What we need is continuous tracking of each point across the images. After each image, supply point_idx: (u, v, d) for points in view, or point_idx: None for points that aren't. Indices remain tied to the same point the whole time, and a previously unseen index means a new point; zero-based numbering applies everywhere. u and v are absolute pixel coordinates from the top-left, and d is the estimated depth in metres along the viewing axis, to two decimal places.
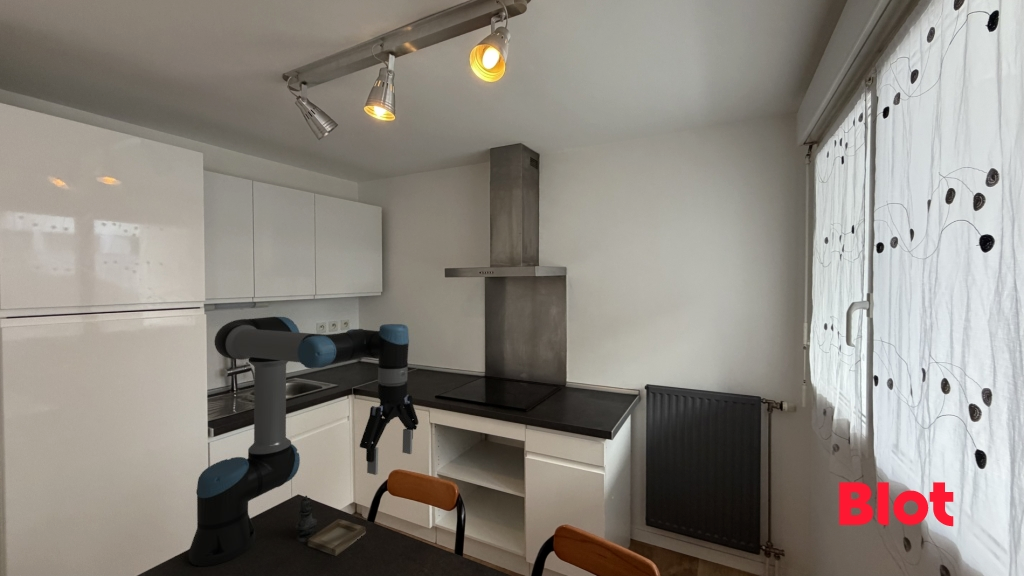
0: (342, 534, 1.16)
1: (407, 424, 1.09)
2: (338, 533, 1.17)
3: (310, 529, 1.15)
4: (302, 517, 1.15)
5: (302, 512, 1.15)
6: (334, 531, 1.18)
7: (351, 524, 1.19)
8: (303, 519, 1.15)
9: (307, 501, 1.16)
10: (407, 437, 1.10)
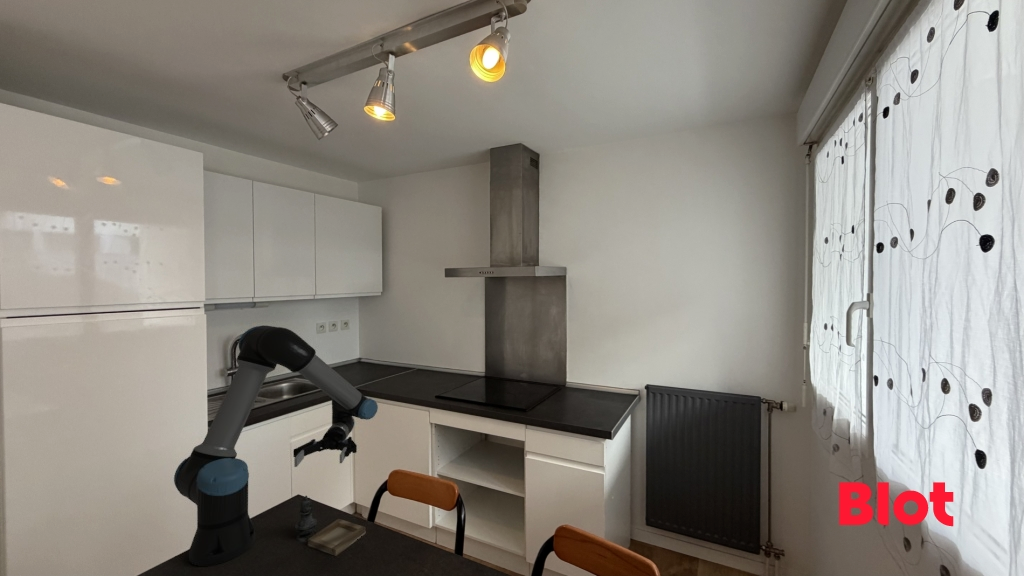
0: (342, 534, 1.16)
1: (307, 453, 1.33)
2: (338, 533, 1.17)
3: (310, 529, 1.15)
4: (302, 517, 1.15)
5: (302, 512, 1.15)
6: (334, 531, 1.18)
7: (351, 524, 1.19)
8: (303, 519, 1.15)
9: (307, 501, 1.16)
10: (301, 457, 1.29)
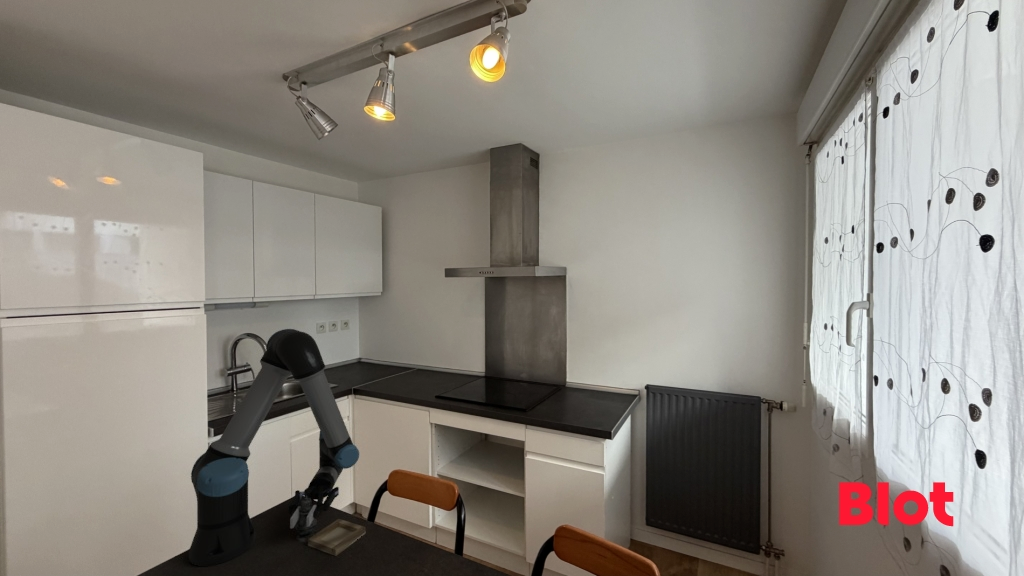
0: (342, 534, 1.16)
1: None
2: (338, 533, 1.17)
3: (310, 529, 1.15)
4: (302, 517, 1.15)
5: (302, 512, 1.15)
6: (334, 531, 1.18)
7: (351, 524, 1.19)
8: (303, 519, 1.15)
9: (307, 501, 1.16)
10: (298, 515, 1.15)
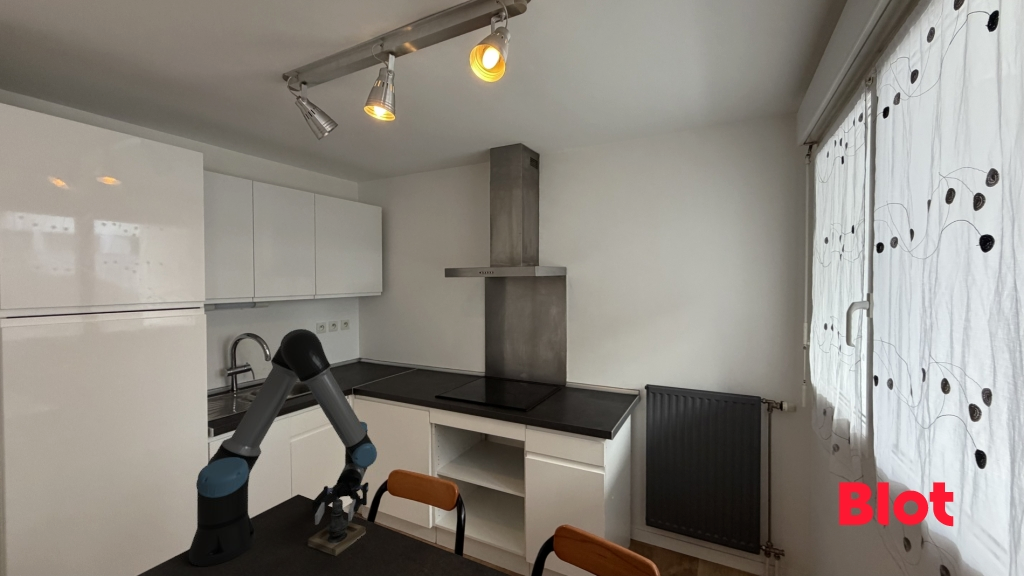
0: None
1: (326, 504, 1.18)
2: None
3: (342, 531, 1.13)
4: (334, 518, 1.13)
5: (334, 513, 1.13)
6: None
7: (351, 524, 1.19)
8: (335, 521, 1.13)
9: (338, 502, 1.14)
10: (322, 511, 1.14)
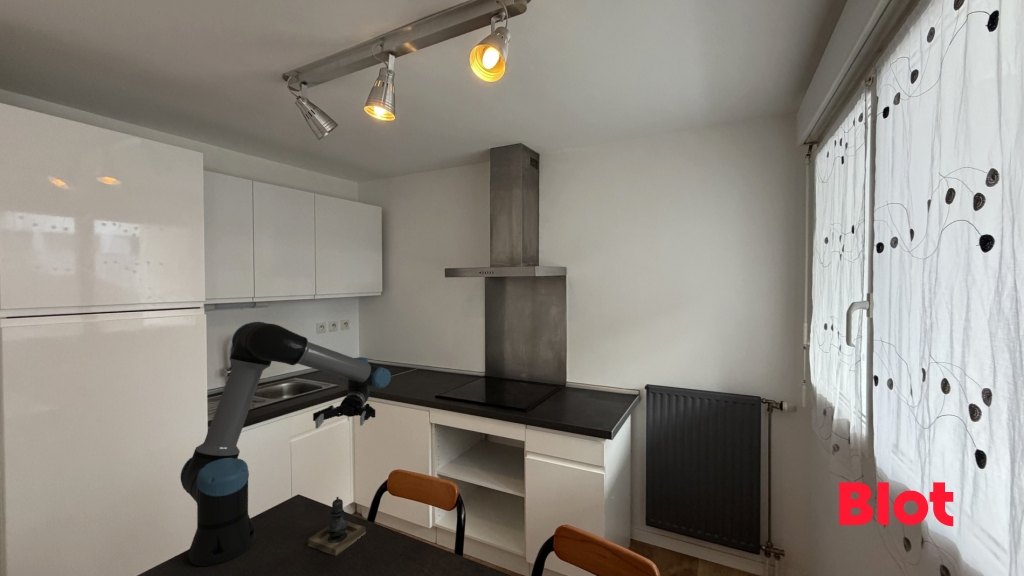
0: None
1: (326, 417, 1.34)
2: None
3: (342, 531, 1.13)
4: (334, 518, 1.13)
5: (334, 514, 1.13)
6: None
7: (351, 524, 1.19)
8: (335, 521, 1.13)
9: (339, 502, 1.14)
10: (322, 420, 1.30)
